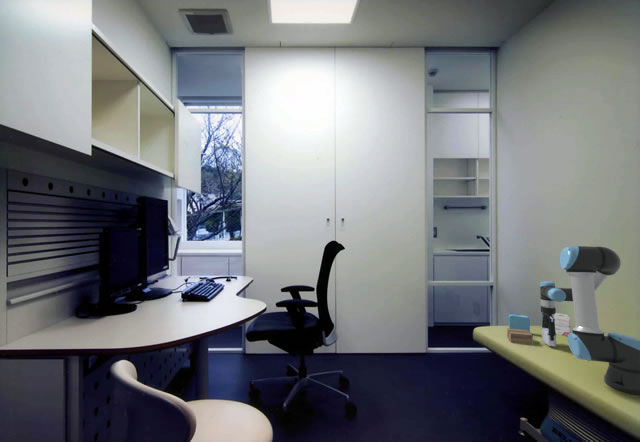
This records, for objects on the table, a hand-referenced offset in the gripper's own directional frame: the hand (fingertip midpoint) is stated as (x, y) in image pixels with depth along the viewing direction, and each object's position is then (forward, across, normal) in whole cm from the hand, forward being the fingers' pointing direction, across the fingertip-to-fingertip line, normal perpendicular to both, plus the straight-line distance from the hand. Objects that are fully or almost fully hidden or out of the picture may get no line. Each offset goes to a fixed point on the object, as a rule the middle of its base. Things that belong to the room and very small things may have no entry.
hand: (549, 343), depth 191 cm
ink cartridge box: (+2, -27, +16) cm, 32 cm away
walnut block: (+2, -3, -15) cm, 15 cm away
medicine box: (+1, 0, 0) cm, 1 cm away
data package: (+2, -21, -11) cm, 24 cm away
